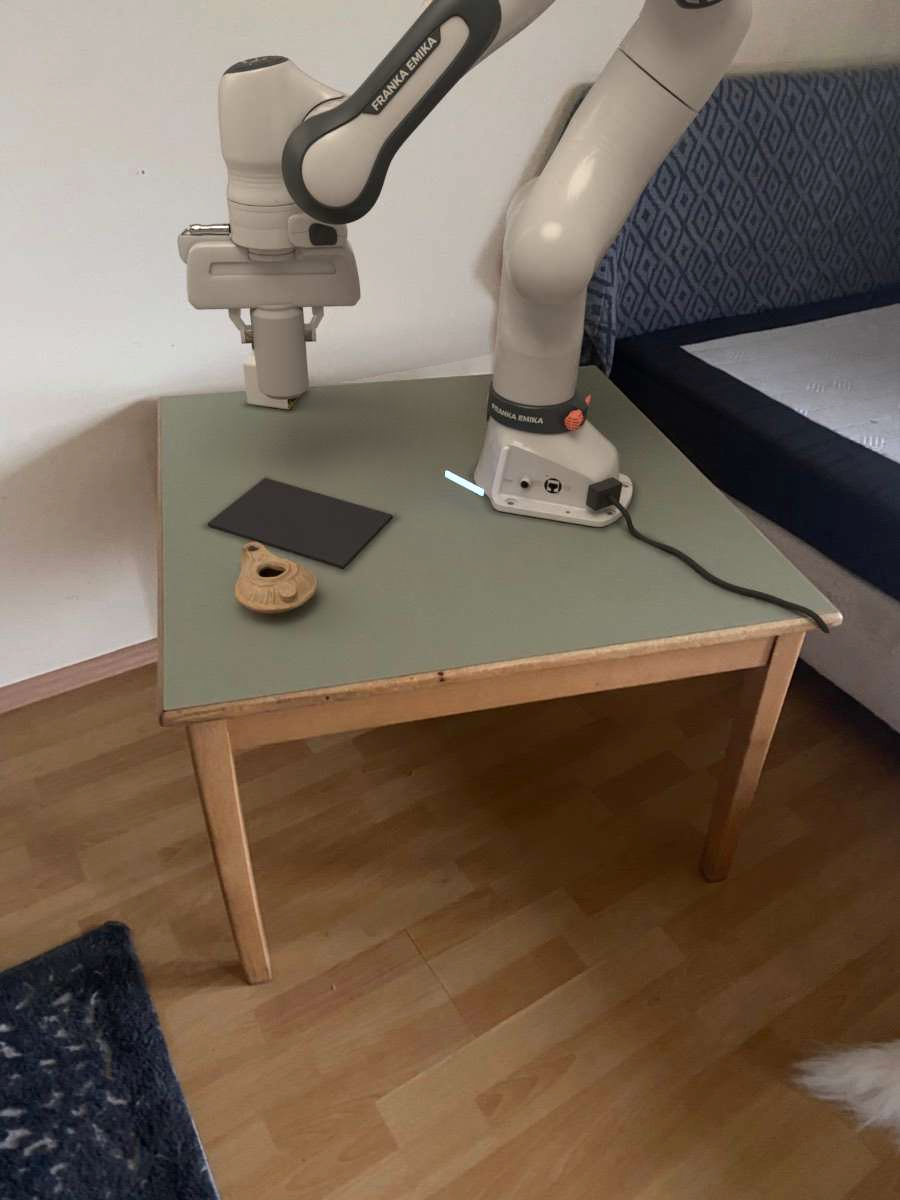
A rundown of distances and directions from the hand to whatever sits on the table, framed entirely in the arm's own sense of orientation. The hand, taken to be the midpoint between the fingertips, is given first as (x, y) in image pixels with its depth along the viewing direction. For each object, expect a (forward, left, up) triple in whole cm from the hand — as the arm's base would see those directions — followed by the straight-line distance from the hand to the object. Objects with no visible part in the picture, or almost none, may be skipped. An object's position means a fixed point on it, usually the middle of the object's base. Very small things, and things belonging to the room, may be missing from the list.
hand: (279, 341), depth 108 cm
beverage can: (0, 0, -7) cm, 7 cm away
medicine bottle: (+17, -22, -21) cm, 35 cm away
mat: (-6, +7, -21) cm, 23 cm away
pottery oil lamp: (-11, +21, -21) cm, 32 cm away
